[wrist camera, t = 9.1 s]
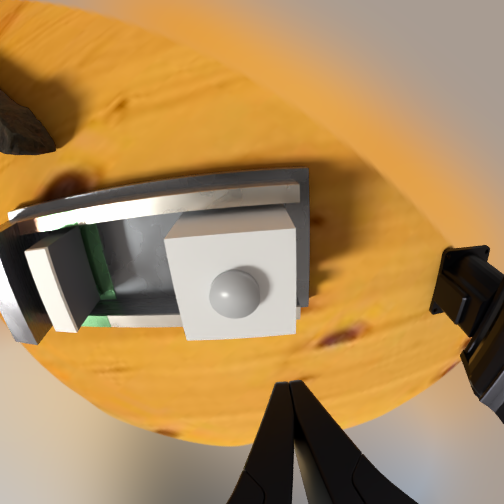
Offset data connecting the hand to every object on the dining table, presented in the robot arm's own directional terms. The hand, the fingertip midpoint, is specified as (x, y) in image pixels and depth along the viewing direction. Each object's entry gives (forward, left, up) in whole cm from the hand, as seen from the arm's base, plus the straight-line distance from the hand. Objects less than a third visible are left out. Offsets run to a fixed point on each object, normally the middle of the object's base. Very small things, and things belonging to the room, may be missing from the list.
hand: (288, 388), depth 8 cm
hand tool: (+21, -16, -13) cm, 29 cm away
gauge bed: (+9, 0, -12) cm, 15 cm away
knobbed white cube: (+2, 0, -11) cm, 11 cm away
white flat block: (+14, 0, -11) cm, 18 cm away
